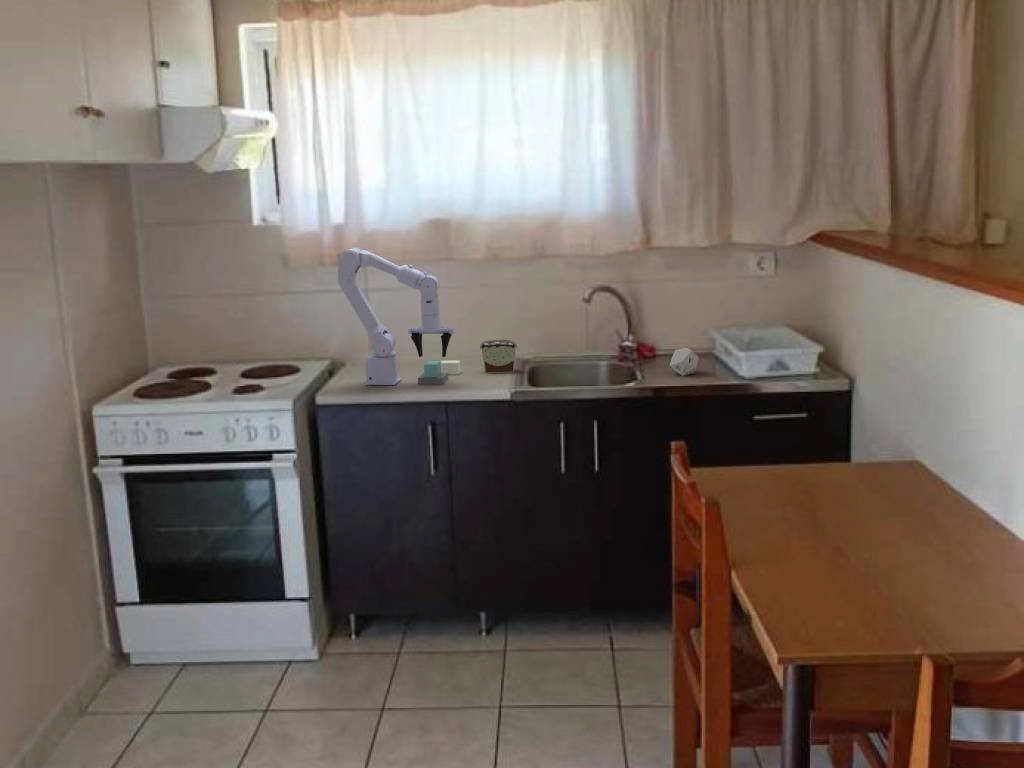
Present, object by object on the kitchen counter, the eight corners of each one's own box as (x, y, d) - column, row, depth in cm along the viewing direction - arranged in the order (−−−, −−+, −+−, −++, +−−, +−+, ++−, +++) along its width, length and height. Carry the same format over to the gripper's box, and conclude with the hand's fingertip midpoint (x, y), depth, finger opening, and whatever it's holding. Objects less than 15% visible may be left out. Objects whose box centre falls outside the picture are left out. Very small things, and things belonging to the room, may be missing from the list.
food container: (519, 368, 339) (518, 338, 337) (518, 372, 334) (517, 342, 331) (483, 368, 341) (482, 339, 338) (480, 372, 335) (479, 343, 332)
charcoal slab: (418, 385, 322) (417, 378, 321) (424, 380, 329) (423, 372, 329) (442, 385, 321) (442, 378, 320) (448, 380, 328) (447, 372, 328)
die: (666, 378, 321) (681, 356, 315) (663, 359, 328) (678, 337, 322) (690, 385, 323) (705, 363, 317) (687, 366, 330) (702, 345, 324)
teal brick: (424, 377, 322) (423, 364, 321) (428, 373, 328) (428, 361, 327) (436, 377, 321) (436, 364, 320) (441, 373, 327) (440, 361, 326)
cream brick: (440, 375, 334) (440, 363, 333) (442, 372, 338) (442, 360, 337) (458, 374, 334) (458, 362, 333) (460, 372, 337) (460, 360, 337)
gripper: (404, 316, 317) (407, 358, 320) (450, 316, 315) (452, 359, 318) (410, 312, 324) (412, 354, 327) (455, 312, 322) (456, 354, 325)
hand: (432, 356), depth 323 cm, fingers open, 7 cm apart
